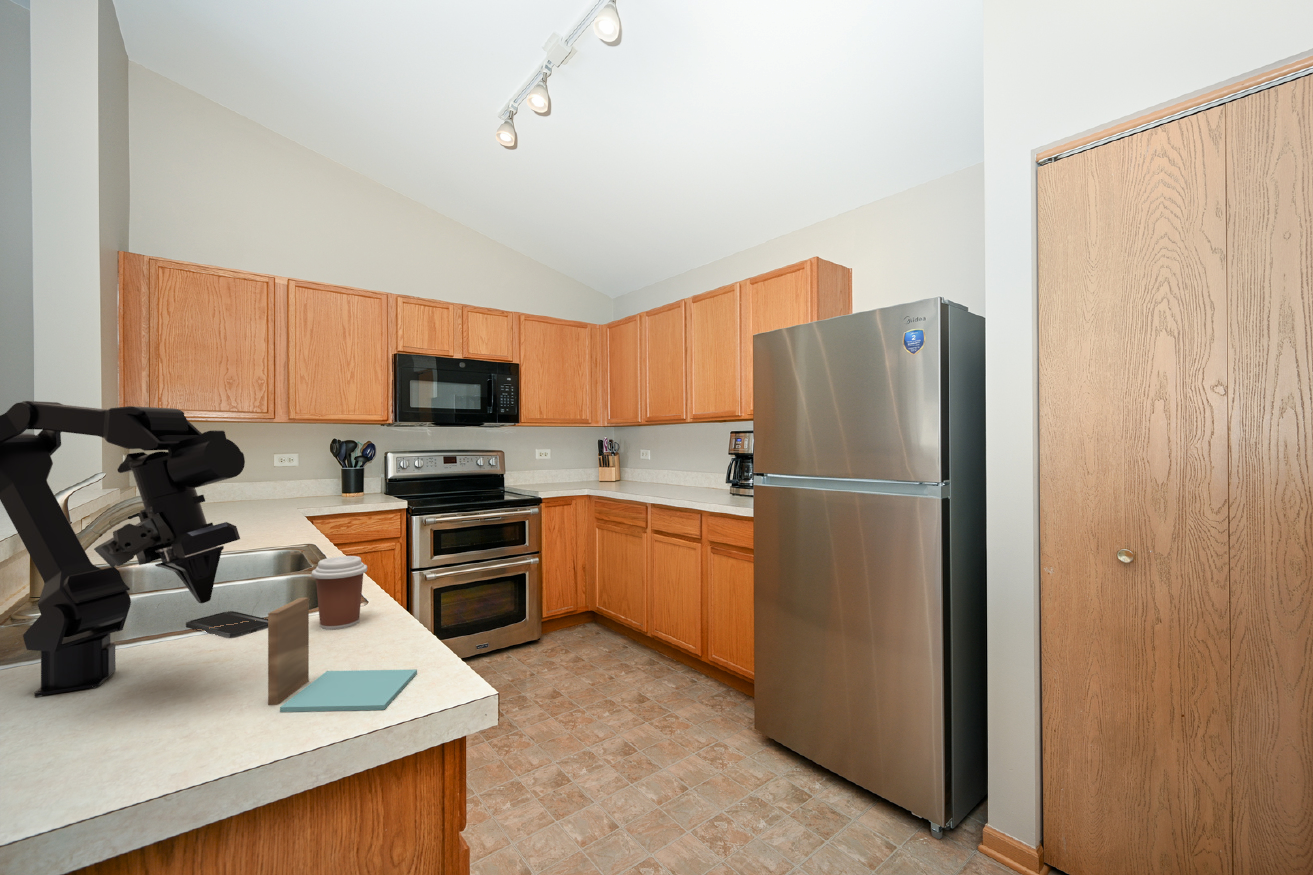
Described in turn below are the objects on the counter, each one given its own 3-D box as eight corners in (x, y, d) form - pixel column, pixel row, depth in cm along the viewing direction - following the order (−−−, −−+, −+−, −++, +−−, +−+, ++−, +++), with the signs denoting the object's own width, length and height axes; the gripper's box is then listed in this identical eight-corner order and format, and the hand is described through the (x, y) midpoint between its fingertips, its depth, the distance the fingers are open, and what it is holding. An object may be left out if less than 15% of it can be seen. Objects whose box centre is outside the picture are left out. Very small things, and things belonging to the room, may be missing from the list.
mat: (279, 711, 71) (279, 707, 71) (327, 674, 82) (327, 670, 82) (384, 709, 72) (384, 705, 72) (417, 673, 83) (417, 669, 83)
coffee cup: (358, 630, 101) (358, 563, 101) (302, 633, 99) (302, 566, 99) (373, 614, 110) (373, 553, 110) (322, 617, 108) (322, 555, 108)
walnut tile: (268, 705, 73) (268, 613, 73) (300, 681, 80) (300, 597, 80) (277, 704, 73) (277, 613, 73) (308, 681, 80) (308, 597, 80)
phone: (230, 610, 110) (277, 620, 104) (230, 616, 110) (277, 627, 104) (182, 622, 103) (230, 634, 97) (182, 628, 103) (230, 641, 97)
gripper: (71, 521, 75) (108, 630, 76) (113, 504, 65) (155, 629, 66) (172, 497, 85) (205, 595, 86) (223, 479, 75) (258, 590, 76)
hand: (205, 602), depth 78 cm, fingers closed
